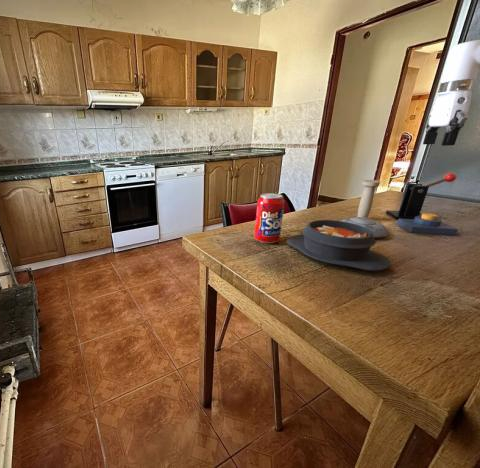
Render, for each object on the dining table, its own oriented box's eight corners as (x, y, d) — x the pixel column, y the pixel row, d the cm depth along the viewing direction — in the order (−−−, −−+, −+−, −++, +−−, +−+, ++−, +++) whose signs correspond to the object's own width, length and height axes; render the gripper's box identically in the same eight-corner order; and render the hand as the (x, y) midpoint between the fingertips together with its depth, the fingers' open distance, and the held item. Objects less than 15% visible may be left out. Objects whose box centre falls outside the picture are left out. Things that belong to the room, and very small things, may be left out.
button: (431, 218, 89) (432, 213, 88) (437, 221, 86) (439, 216, 85) (418, 217, 90) (419, 212, 89) (424, 220, 87) (426, 215, 86)
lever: (453, 178, 95) (451, 171, 94) (460, 180, 92) (457, 172, 91) (410, 194, 100) (408, 186, 100) (415, 195, 97) (413, 188, 97)
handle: (370, 218, 101) (381, 180, 96) (367, 222, 97) (378, 183, 91) (356, 216, 104) (365, 179, 99) (352, 220, 100) (362, 181, 95)
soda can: (261, 234, 89) (266, 191, 84) (283, 240, 83) (290, 195, 78) (249, 240, 84) (253, 195, 79) (271, 247, 79) (277, 199, 73)
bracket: (417, 214, 104) (428, 183, 100) (431, 221, 96) (444, 187, 92) (385, 213, 107) (394, 182, 103) (396, 219, 99) (406, 186, 95)
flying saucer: (388, 244, 78) (393, 227, 76) (331, 235, 87) (334, 219, 85) (387, 230, 89) (391, 215, 87) (336, 223, 98) (339, 209, 96)
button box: (437, 226, 91) (441, 215, 90) (455, 235, 83) (460, 223, 82) (396, 224, 95) (400, 213, 93) (410, 232, 87) (414, 221, 85)
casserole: (399, 262, 68) (409, 232, 65) (372, 286, 58) (382, 252, 55) (305, 235, 87) (309, 211, 84) (272, 250, 77) (276, 223, 74)
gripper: (493, 82, 73) (471, 145, 79) (450, 91, 89) (434, 143, 95) (460, 85, 75) (441, 146, 81) (423, 93, 91) (409, 144, 97)
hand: (437, 144), depth 88 cm, fingers open, 9 cm apart
